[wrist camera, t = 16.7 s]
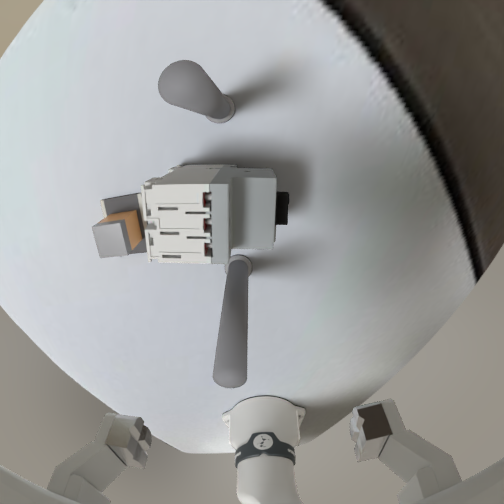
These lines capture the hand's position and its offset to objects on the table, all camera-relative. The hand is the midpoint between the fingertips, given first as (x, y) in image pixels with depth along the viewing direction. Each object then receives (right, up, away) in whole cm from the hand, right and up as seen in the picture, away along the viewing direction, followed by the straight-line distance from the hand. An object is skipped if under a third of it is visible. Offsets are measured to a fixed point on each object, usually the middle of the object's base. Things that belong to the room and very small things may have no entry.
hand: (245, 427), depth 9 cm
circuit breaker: (-3, +15, +30) cm, 34 cm away
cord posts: (-3, +15, +30) cm, 34 cm away
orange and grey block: (-19, +10, +32) cm, 38 cm away
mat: (-19, +11, +32) cm, 38 cm away
